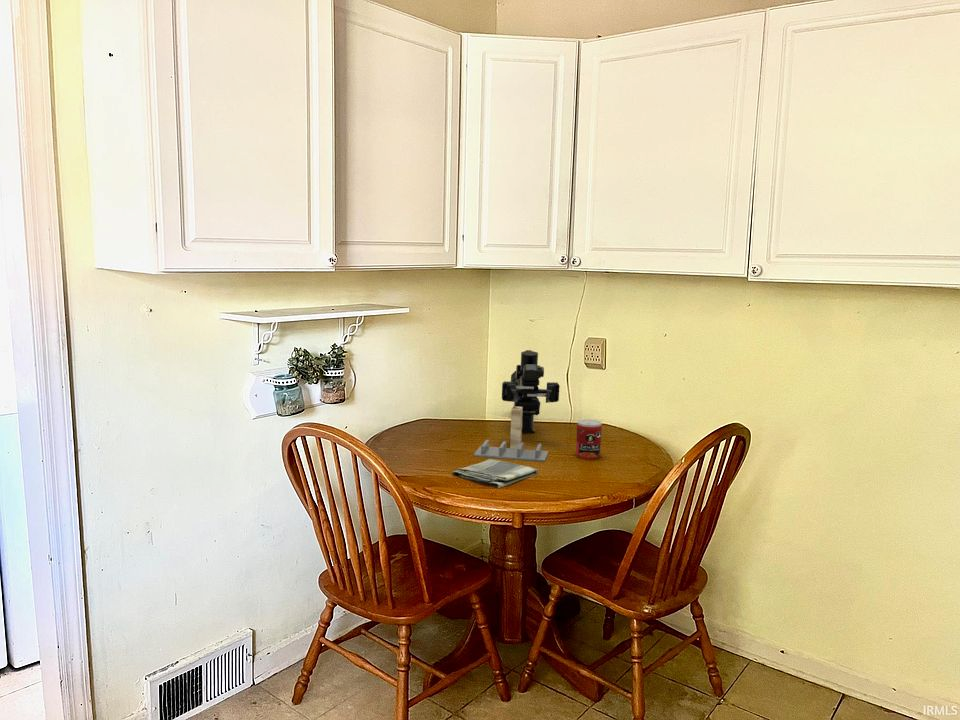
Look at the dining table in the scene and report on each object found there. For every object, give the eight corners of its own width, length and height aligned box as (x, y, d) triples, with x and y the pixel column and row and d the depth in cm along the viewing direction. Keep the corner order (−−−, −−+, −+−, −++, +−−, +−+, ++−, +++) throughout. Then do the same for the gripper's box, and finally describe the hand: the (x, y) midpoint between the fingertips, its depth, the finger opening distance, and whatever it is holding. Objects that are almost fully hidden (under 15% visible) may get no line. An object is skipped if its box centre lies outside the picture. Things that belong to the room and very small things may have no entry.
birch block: (512, 445, 238) (513, 406, 236) (521, 445, 238) (522, 406, 236) (510, 448, 234) (511, 409, 232) (519, 449, 233) (520, 409, 231)
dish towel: (490, 463, 220) (490, 453, 219) (538, 475, 209) (539, 465, 208) (449, 477, 205) (449, 466, 205) (499, 491, 194) (499, 480, 194)
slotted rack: (480, 447, 234) (480, 438, 234) (548, 453, 230) (548, 443, 229) (473, 456, 224) (474, 446, 224) (544, 462, 220) (545, 452, 220)
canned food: (576, 459, 224) (578, 424, 222) (574, 452, 232) (575, 418, 230) (601, 460, 224) (603, 425, 222) (598, 452, 232) (600, 419, 230)
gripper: (502, 360, 243) (503, 376, 228) (557, 362, 243) (563, 377, 228) (501, 392, 246) (502, 409, 231) (555, 393, 247) (561, 410, 232)
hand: (532, 400), depth 231 cm, fingers open, 9 cm apart
